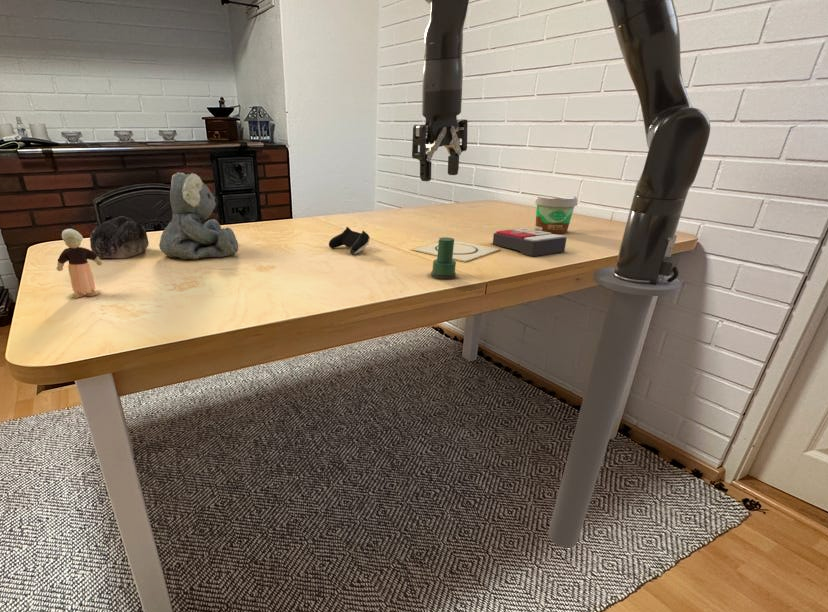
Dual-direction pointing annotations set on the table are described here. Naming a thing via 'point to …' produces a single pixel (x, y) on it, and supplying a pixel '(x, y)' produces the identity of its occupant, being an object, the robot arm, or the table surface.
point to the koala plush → (194, 222)
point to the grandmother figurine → (78, 264)
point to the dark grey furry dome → (119, 238)
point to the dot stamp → (444, 260)
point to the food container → (554, 214)
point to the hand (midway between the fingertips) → (439, 177)
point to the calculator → (530, 241)
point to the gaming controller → (351, 240)
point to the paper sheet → (460, 250)
